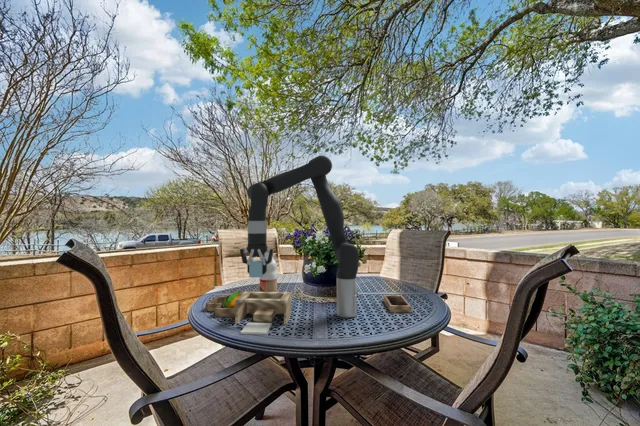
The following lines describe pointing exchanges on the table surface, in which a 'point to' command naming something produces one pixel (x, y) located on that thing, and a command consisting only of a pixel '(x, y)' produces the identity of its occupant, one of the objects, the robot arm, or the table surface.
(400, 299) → the wooden tray
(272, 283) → the fruit juice
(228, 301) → the corn
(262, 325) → the tile
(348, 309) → the robot arm
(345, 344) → the table surface
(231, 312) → the corn rack
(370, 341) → the table surface
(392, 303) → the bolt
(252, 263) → the block
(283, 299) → the frame
